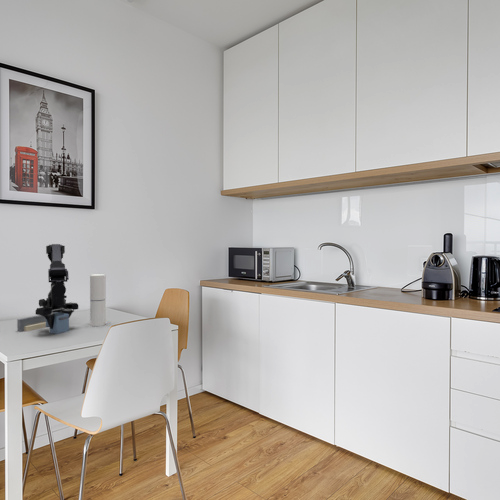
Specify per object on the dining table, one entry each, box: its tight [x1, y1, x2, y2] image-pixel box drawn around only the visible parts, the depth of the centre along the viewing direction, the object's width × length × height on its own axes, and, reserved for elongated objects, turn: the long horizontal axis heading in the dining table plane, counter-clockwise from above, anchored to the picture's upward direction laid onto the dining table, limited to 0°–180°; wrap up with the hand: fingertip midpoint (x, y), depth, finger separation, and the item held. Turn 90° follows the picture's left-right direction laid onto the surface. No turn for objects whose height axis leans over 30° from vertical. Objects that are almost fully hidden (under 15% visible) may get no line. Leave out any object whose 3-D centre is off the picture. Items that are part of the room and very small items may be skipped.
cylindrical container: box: [89, 273, 107, 327], centre depth 195 cm, size 7×7×25 cm
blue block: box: [45, 313, 70, 335], centre depth 181 cm, size 6×8×8 cm
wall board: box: [16, 312, 58, 333], centre depth 189 cm, size 20×4×6 cm, turn 155°
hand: (57, 327), depth 181 cm, fingers closed on blue block, 6 cm apart
